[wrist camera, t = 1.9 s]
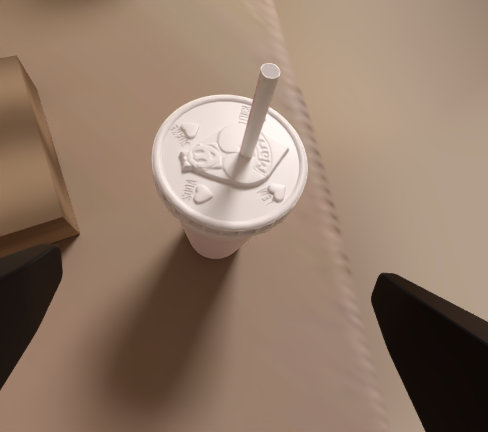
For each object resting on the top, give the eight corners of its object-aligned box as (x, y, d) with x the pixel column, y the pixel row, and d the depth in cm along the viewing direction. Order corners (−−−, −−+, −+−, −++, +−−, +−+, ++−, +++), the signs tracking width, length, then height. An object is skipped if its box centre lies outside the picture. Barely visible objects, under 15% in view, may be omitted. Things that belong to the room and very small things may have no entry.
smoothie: (272, 269, 21) (394, 159, 9) (174, 288, 20) (144, 191, 7) (250, 184, 24) (322, -8, 11) (160, 196, 22) (119, -10, 9)
